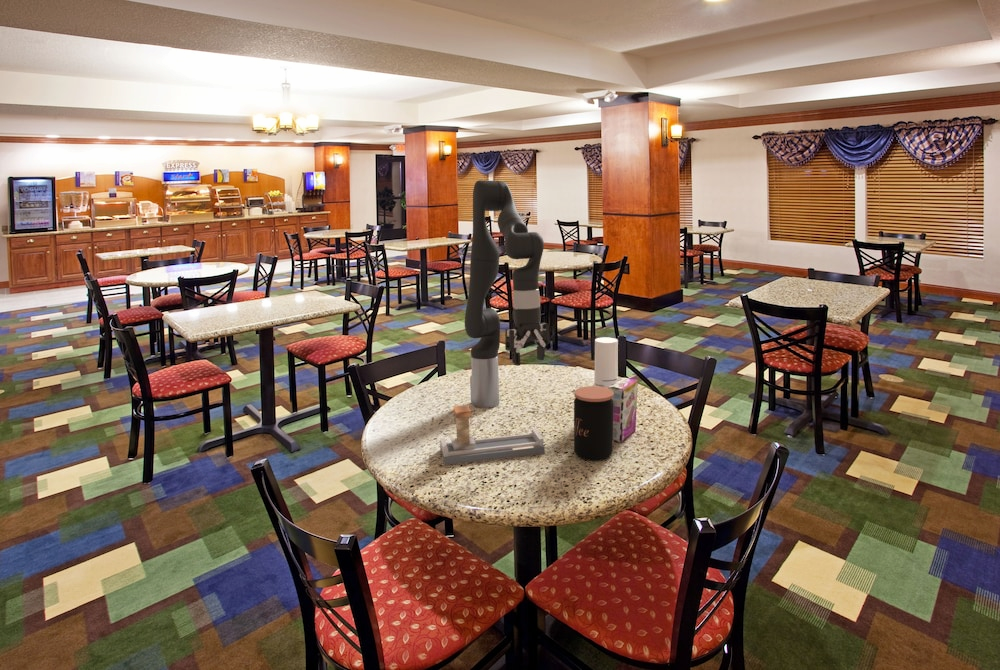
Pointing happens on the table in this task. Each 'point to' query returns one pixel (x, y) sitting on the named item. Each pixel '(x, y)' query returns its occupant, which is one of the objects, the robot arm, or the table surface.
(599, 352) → the cylindrical container
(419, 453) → the table surface
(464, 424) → the slider
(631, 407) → the candy bar box
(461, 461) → the track
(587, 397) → the coffee jar
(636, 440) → the table surface
